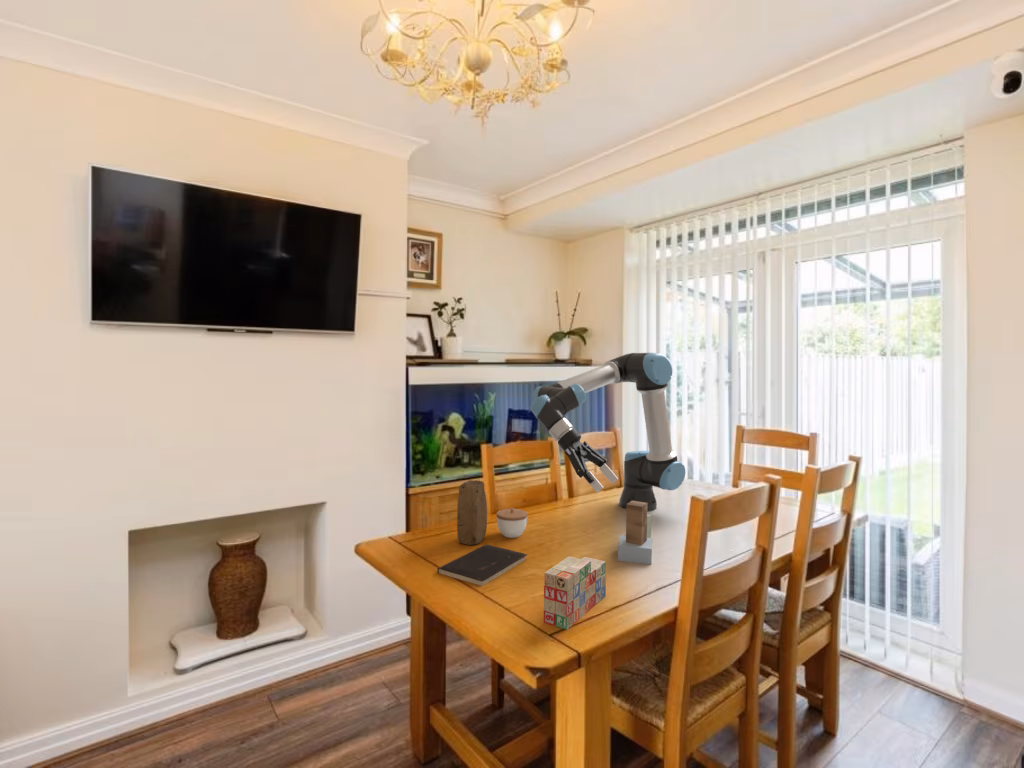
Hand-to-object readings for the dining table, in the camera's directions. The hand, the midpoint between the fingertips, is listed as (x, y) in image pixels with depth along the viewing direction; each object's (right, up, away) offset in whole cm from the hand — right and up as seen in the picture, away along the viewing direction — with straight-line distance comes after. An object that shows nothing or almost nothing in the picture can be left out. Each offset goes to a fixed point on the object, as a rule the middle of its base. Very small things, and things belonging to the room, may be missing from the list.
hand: (608, 485), depth 170 cm
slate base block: (+8, -22, -4) cm, 23 cm away
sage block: (+13, -21, +10) cm, 26 cm away
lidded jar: (-31, -20, +15) cm, 40 cm away
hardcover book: (-39, -22, -13) cm, 47 cm away
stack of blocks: (-15, -23, -38) cm, 47 cm away
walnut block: (+8, -17, -4) cm, 19 cm away
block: (-44, -20, +9) cm, 49 cm away
